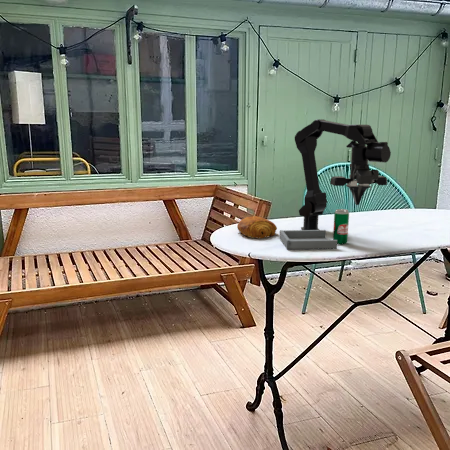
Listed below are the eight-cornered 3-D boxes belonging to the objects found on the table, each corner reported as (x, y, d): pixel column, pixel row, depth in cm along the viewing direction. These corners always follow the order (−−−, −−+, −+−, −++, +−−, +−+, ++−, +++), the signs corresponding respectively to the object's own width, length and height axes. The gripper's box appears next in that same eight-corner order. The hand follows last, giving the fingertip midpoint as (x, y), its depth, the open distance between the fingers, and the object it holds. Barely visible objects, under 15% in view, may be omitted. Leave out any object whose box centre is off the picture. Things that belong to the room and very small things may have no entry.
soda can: (337, 245, 161) (339, 211, 158) (330, 241, 166) (331, 209, 163) (350, 244, 162) (352, 211, 160) (342, 240, 167) (344, 208, 164)
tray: (279, 238, 171) (279, 230, 170) (324, 237, 172) (324, 229, 171) (287, 249, 155) (287, 241, 154) (336, 249, 156) (337, 240, 155)
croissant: (245, 245, 169) (245, 225, 166) (233, 230, 183) (233, 211, 180) (281, 242, 173) (282, 222, 170) (267, 227, 187) (268, 209, 184)
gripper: (340, 163, 153) (338, 209, 156) (395, 162, 154) (391, 208, 157) (330, 160, 163) (329, 203, 167) (382, 160, 164) (379, 203, 168)
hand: (357, 204), depth 164 cm, fingers closed
